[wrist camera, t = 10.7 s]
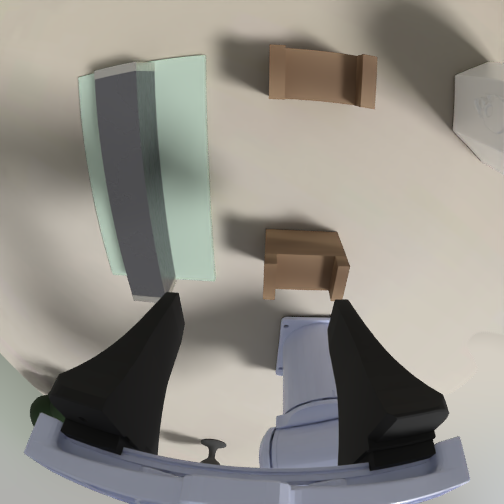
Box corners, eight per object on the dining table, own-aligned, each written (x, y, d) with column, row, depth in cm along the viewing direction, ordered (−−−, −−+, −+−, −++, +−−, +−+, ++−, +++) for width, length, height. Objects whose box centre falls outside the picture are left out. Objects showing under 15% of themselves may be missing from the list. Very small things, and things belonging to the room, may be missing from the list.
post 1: (352, 103, 17) (374, 109, 13) (269, 96, 17) (268, 98, 13) (354, 62, 16) (377, 56, 12) (269, 54, 16) (269, 44, 12)
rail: (176, 280, 26) (167, 303, 23) (145, 278, 26) (133, 300, 23) (154, 63, 16) (136, 61, 13) (116, 70, 16) (93, 70, 14)
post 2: (331, 263, 24) (341, 301, 20) (264, 261, 24) (262, 299, 20) (337, 232, 23) (350, 266, 19) (265, 229, 23) (264, 263, 19)
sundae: (213, 435, 45) (202, 508, 33) (237, 446, 48) (230, 514, 35) (189, 439, 48) (177, 506, 35) (213, 450, 50) (204, 512, 38)
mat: (215, 278, 26) (214, 281, 25) (114, 272, 26) (112, 274, 26) (205, 55, 16) (204, 55, 16) (81, 77, 17) (78, 77, 16)
